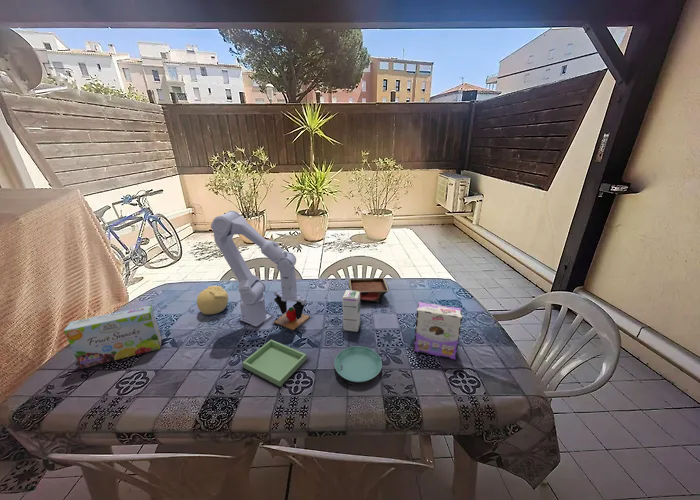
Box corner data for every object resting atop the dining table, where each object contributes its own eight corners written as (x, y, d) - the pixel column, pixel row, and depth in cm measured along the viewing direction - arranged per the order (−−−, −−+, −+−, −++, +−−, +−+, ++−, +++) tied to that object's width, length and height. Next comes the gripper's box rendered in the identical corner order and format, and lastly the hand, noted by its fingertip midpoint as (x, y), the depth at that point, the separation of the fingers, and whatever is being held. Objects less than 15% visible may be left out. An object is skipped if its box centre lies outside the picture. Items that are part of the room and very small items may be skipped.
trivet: (273, 323, 107) (273, 321, 107) (290, 311, 115) (290, 309, 115) (293, 331, 102) (293, 329, 102) (309, 317, 111) (309, 316, 110)
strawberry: (284, 320, 108) (283, 309, 106) (291, 314, 111) (290, 304, 110) (292, 323, 106) (291, 312, 104) (299, 317, 109) (299, 307, 108)
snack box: (79, 371, 84) (61, 330, 79) (86, 359, 89) (69, 320, 84) (160, 349, 93) (149, 311, 88) (162, 339, 98) (152, 303, 93)
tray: (243, 368, 85) (242, 362, 84) (271, 345, 95) (270, 339, 94) (280, 388, 78) (279, 381, 77) (306, 360, 88) (306, 354, 87)
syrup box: (358, 332, 102) (358, 298, 97) (342, 330, 103) (342, 296, 98) (360, 323, 107) (360, 290, 102) (345, 321, 108) (345, 289, 103)
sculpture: (232, 311, 115) (228, 289, 111) (201, 321, 108) (195, 297, 105) (227, 300, 124) (223, 279, 120) (197, 308, 117) (192, 286, 114)
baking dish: (386, 310, 119) (390, 289, 116) (346, 304, 118) (349, 283, 116) (382, 295, 133) (386, 277, 130) (346, 290, 132) (349, 271, 129)
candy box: (455, 349, 93) (462, 307, 87) (455, 360, 88) (463, 317, 82) (414, 340, 97) (418, 300, 91) (412, 351, 92) (416, 309, 86)
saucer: (336, 351, 92) (336, 345, 91) (379, 352, 91) (380, 346, 90) (332, 387, 78) (332, 380, 77) (383, 388, 78) (384, 381, 77)
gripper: (267, 284, 103) (270, 315, 108) (297, 293, 97) (299, 325, 101) (279, 277, 109) (282, 306, 114) (309, 285, 102) (310, 316, 107)
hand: (291, 315), depth 108 cm, fingers open, 7 cm apart
